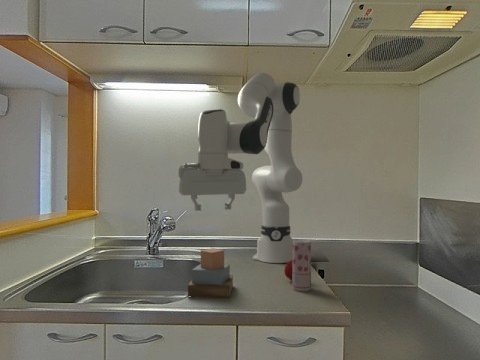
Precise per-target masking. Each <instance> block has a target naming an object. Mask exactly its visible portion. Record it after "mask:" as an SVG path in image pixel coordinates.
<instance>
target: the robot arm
mask: <svg viewBox="0 0 480 360" xmlns="http://www.w3.org/2000/svg"><path fill="white" fill-rule="evenodd" d="M300 98H301V93H300V89H299V86H297V84H296V83H294V82H289V81H287V82H275V79H274V78H273V76H272V75H270V74H268V73H266V72H258V73H257V74H255V75H254V76H252V77H251V78H249V80H248V81H246V83H245V84H244V85H243V87H242V88H241V89H240V91H239V92H238V96H237V104H238V106H239V110H241V112H242V113H243V114H244V115H246V116H247V117H250V118H253V120H249V121H242V122H240V121H239V122H230V121H229V120H228V118H227V112H226V111H225V110H224V109H223V108H222V109H221V108H220V109H209V110H203V111H202V112H201V113H200V114H199V119H198V128H197V129H198V130H197V140H198V144H199V148H198V152H197V153H198V154H197V155H198V156H197V161H198V162H197V163H183V164H182V165H180V166H179V167H178V178H179V184H178V192H179V194H180V195H181V196H190V199H191V201H192V203H193V204H194V211H195V212H196V211H197V212H199V211H202V205H201V204H200V203H198V196H211V195H212V196H213V195H214V196H215V195H227V196H228V198H229V199H228V201H227V202H225V203H224V209H225V210H232V204H233V202H234V201H235V198H236V195H244V194H245V193H246V191H247V179H246V175H245V171H243V169H244V163H243V162H242V161H239V160H235V159H233V158H230V157H229V155H228V154H237V155H238V154H249V155H259V154H260V153H261V152H263V150H264V151H265V154H267V155H268V157H269V161H270V164H269V165H263V166H260V167H257V168H256V169H255V170H254V171H253V172H252V174H251V182H252V185H253V187H255V189H256V190H257V193H258V195H259V198H260V202H261V209H262V213H261V214H262V218H261V219H262V221H261V222H262V224H261V228H260V230H261V231H260V233H261V235H260V236H259V238H258V239H257V241H256V251H257V252H256V253H255V254H254V255H253V256H252V260H256V261H259V262H263V263H269V264H271V263H272V264H284V263H285V264H287V263H288V262H289V261H290V260H292V258H293V241H294V240H295V239H293V238H292V237H291V231H292V230H291V226H290V206H289V204H288V203H287V202H286V201H285V199H284V195H283V193H286V194H287V193H292V192H295V191H298V190H299V189H300V188H301V186H302V184H303V175H302V174H303V173H302V171H301V170H300V169H299V168H298V167H297V165H296V163H295V161H294V157H293V153H292V151H293V150H292V138H293V137H292V136H293V135H292V134H293V133H292V131H293V123H292V121H293V120H292V114H293V112H294V110H296V109H297V107H298V106H299V104H300V100H301V99H300Z"/></svg>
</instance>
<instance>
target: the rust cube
mask: <svg viewBox="0 0 480 360" xmlns="http://www.w3.org/2000/svg"><path fill="white" fill-rule="evenodd" d="M200 264H201V267H203V268H207V269H211V270H213V269H217V268H221V267H224V264H225V250H223V249H219V248H213V247H212V248H207V249H200Z"/></svg>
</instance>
